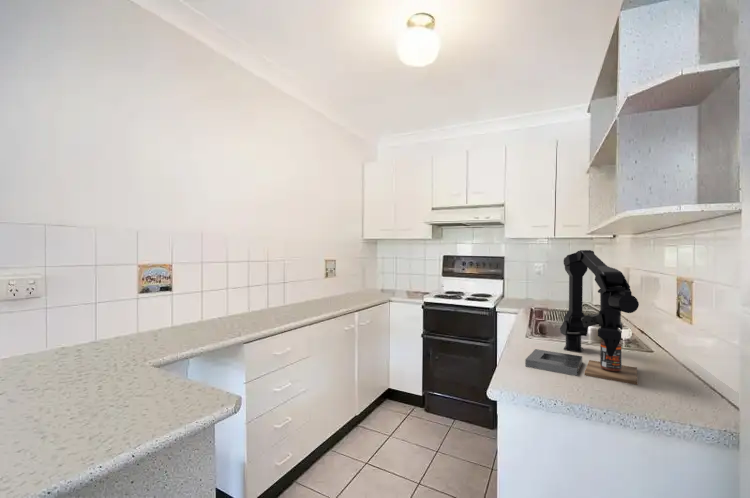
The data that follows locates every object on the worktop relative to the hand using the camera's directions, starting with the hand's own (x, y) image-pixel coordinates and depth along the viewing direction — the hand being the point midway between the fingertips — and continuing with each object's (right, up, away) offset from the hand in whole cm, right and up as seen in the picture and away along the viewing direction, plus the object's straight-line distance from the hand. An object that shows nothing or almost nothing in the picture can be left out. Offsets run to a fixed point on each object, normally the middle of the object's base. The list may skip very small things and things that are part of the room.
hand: (610, 353), depth 116 cm
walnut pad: (0, -7, 0) cm, 7 cm away
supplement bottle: (0, -6, 0) cm, 6 cm away
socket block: (-15, -7, +9) cm, 18 cm away
